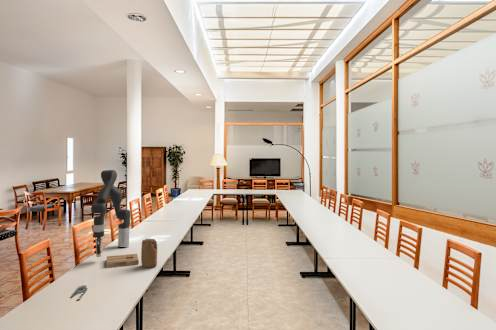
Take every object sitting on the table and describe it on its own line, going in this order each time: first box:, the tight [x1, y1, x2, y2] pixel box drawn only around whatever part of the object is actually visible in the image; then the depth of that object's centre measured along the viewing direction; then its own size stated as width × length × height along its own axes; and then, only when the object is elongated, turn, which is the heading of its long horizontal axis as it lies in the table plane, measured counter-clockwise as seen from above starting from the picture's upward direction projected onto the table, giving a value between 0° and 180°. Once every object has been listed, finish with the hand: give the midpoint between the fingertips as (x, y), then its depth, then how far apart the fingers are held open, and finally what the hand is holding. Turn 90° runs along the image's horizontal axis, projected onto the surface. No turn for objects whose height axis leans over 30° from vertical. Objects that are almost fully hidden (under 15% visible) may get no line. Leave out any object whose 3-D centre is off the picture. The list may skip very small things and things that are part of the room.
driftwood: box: [69, 284, 88, 301], centre depth 185 cm, size 21×7×2 cm, turn 10°
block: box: [140, 238, 158, 269], centre depth 233 cm, size 11×8×20 cm
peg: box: [95, 245, 102, 258], centre depth 240 cm, size 4×4×10 cm
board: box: [105, 253, 140, 269], centre depth 241 cm, size 18×22×3 cm
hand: (98, 252), depth 240 cm, fingers closed on peg, 4 cm apart
